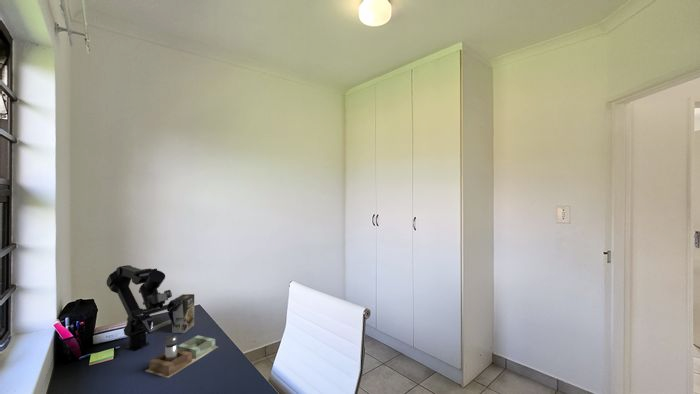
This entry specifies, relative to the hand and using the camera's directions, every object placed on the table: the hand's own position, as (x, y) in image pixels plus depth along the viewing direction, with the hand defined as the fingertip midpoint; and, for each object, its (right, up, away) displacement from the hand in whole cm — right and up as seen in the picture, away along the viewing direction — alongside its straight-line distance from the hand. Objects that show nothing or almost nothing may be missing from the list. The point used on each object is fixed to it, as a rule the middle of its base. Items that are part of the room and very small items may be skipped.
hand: (162, 329), depth 119 cm
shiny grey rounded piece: (+6, -12, -4) cm, 14 cm away
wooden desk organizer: (+8, -13, +1) cm, 15 cm away
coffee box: (-8, -13, +30) cm, 33 cm away
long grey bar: (-21, -14, +35) cm, 43 cm away
